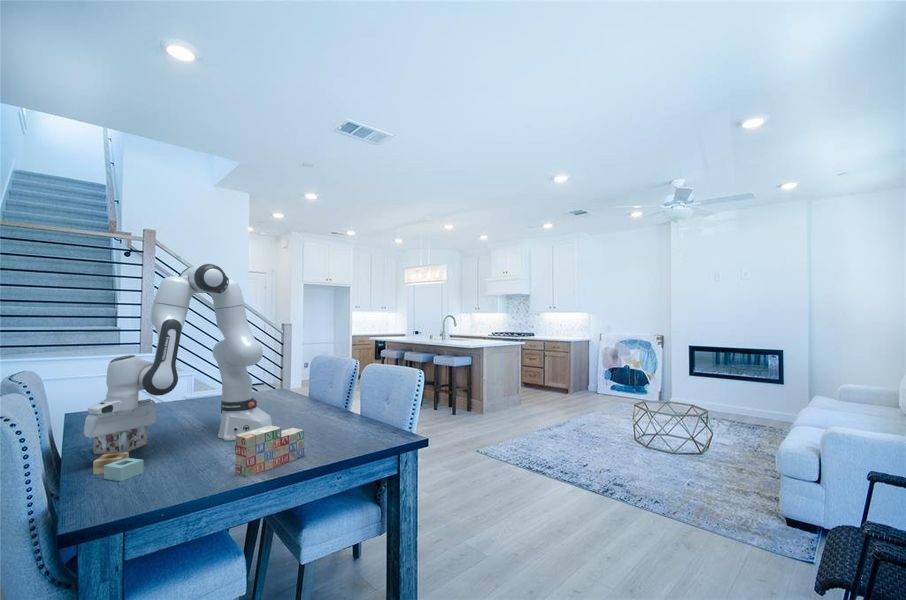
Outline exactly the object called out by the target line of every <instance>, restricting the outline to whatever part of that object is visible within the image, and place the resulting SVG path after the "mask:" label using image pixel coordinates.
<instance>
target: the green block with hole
mask: <svg viewBox="0 0 906 600" xmlns="http://www.w3.org/2000/svg"><path fill="white" fill-rule="evenodd" d="M143 473H144V459H140V458H139V459H138V458H131V457H129V458H125V459H122V460H119V461H116V462H113V463H110V464H107V465H104V473H103V480H104V479H105V480H110V481H117V482H123V481H125V480H127V479H130V478H134V477H136V476H138V475H141V474H143Z"/></svg>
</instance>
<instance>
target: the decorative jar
mask: <svg viewBox="0 0 906 600" xmlns="http://www.w3.org/2000/svg"><path fill="white" fill-rule="evenodd" d="M137 432H138V430H137V428H135V429H131V430H127V452H129V453H130V452H132V451H134V450H137V449H139V448H141V447H144V446H146V445H148V426H145V430H144V431H143V433H142V434H141V440H138V441H134V435H136V434H137ZM104 440H105V441H106V442H110V445H109V446H110V447H109V448H106V449H103V448H102V443H101V442H100V441H99V440H98V437H95V438H92V441H93V442H92V443H93V444H92V446H93V449H92V451H93V454H94V455H103V454H112V453H119V432H117V433H113V434H108V435H106V438H105V439H104Z"/></svg>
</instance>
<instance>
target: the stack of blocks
mask: <svg viewBox="0 0 906 600" xmlns="http://www.w3.org/2000/svg"><path fill="white" fill-rule="evenodd" d="M274 426H275V425H272V426H266V427H263V428H259V429H255V430H252V431H248V432H245V433H241V434H237V435H236V436H235V437H236V440H235V444H234V445H235V447H234V448H235V449H234V453H235V474H237V475H239V476H244V477H245V478H248V477H251V476H254V475H257V474H259V472H260V473H263V472H265V471H268V470H270V469H273V468H276V467H278V466H281V465H284V464H287V463H289V462H292V461H295V460H298V459H301V458H303V457H305V431H304V429H300V428H295V427H290V428H287V429H283V430H282V427H279V426H277V427H274ZM262 471H263V472H262Z"/></svg>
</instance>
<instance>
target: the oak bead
mask: <svg viewBox="0 0 906 600" xmlns="http://www.w3.org/2000/svg"><path fill="white" fill-rule="evenodd" d="M125 458H130V452H123V453H112V454H101V455H100V456H99V457H98V458H97V459H95V460H93V461H92V462H93V463H92V464H93V465H92V467H93V469H92V470H93V472H92V474H93V475H99V474H101V475H102V474H104V465H107V464H110V463H113V462H116V461H119V460H122V459H125Z"/></svg>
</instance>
